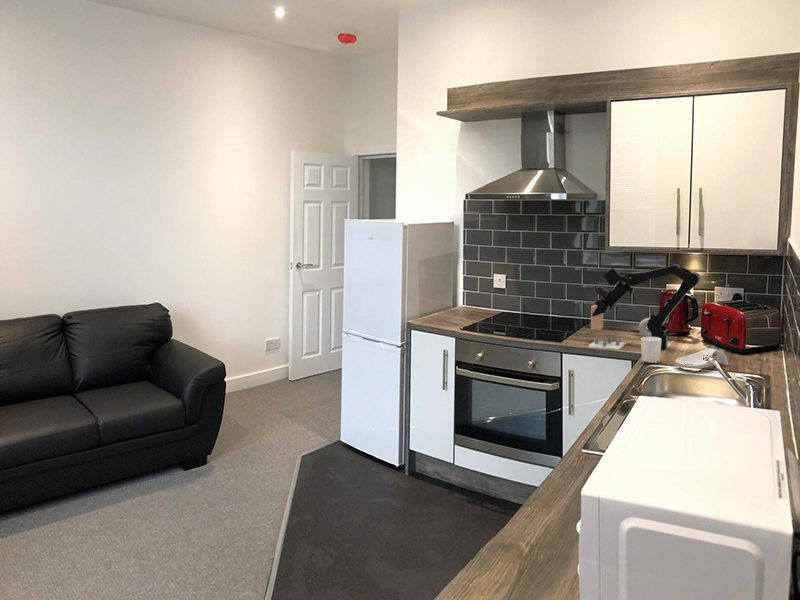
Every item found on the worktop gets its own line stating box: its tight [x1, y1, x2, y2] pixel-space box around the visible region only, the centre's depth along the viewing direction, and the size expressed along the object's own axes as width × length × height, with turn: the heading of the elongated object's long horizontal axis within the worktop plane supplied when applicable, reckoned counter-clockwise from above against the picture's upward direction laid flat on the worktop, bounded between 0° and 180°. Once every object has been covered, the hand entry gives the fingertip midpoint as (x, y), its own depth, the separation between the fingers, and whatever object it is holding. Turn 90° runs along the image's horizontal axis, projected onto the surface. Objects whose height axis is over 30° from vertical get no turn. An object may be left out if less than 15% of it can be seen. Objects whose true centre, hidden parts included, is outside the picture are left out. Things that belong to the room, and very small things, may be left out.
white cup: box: [640, 336, 662, 361], centre depth 258 cm, size 8×8×10 cm
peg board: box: [587, 336, 627, 351], centre depth 291 cm, size 14×14×3 cm
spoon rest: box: [675, 348, 729, 369], centre depth 247 cm, size 24×12×7 cm, turn 115°
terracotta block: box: [590, 304, 604, 331], centre depth 298 cm, size 5×5×11 cm
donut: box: [638, 317, 652, 337], centre depth 306 cm, size 10×3×10 cm, turn 64°
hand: (594, 314), depth 299 cm, fingers closed on terracotta block, 5 cm apart
